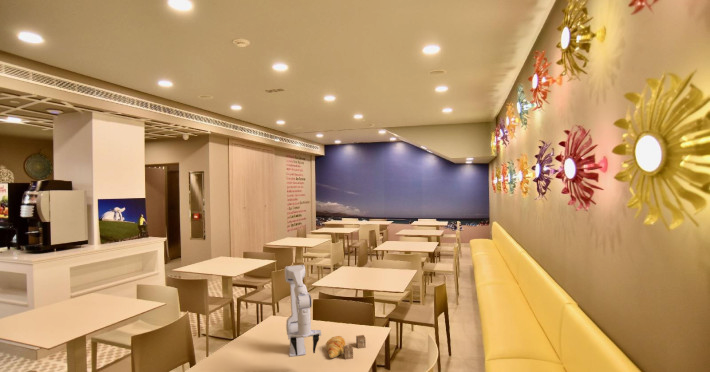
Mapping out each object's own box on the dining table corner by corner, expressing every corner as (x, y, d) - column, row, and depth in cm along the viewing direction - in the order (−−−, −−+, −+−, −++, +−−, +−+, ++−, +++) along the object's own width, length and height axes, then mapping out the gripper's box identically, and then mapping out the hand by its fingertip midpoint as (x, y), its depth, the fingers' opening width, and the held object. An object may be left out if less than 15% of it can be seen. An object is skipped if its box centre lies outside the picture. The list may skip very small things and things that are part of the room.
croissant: (337, 367, 175) (344, 353, 175) (318, 357, 177) (325, 343, 176) (345, 347, 196) (351, 334, 196) (328, 338, 198) (335, 325, 197)
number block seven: (356, 345, 191) (356, 335, 191) (363, 344, 192) (363, 334, 192) (358, 348, 187) (357, 338, 187) (365, 347, 188) (365, 338, 188)
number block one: (343, 355, 180) (343, 345, 180) (351, 354, 181) (351, 344, 181) (345, 359, 176) (344, 349, 176) (353, 358, 177) (352, 348, 177)
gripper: (287, 327, 157) (288, 359, 157) (321, 324, 160) (322, 355, 160) (287, 321, 164) (288, 352, 164) (320, 318, 167) (321, 348, 167)
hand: (305, 353), depth 162 cm, fingers open, 7 cm apart
